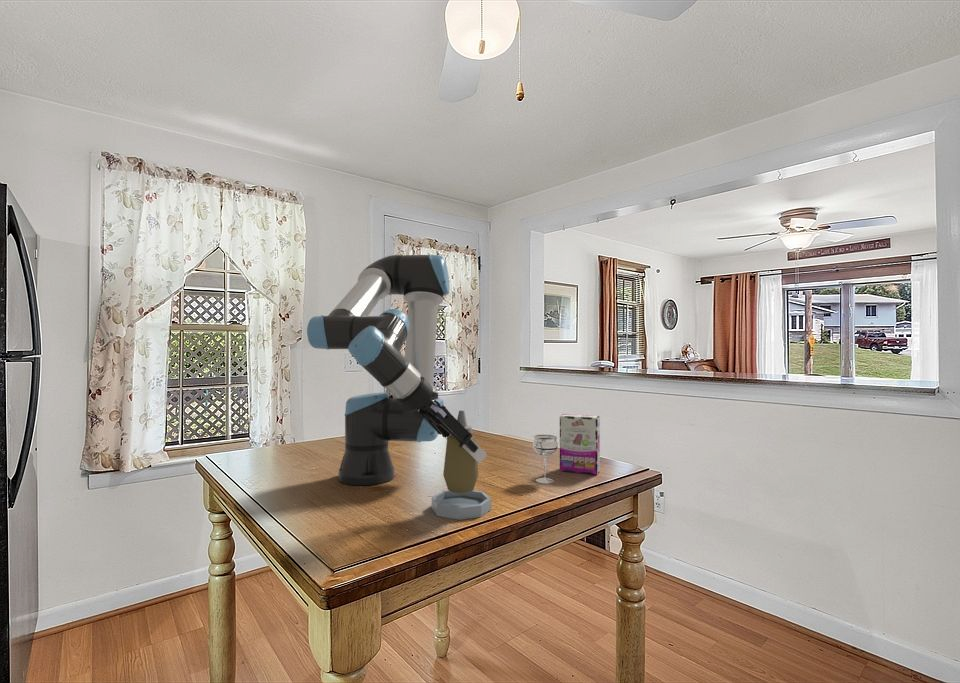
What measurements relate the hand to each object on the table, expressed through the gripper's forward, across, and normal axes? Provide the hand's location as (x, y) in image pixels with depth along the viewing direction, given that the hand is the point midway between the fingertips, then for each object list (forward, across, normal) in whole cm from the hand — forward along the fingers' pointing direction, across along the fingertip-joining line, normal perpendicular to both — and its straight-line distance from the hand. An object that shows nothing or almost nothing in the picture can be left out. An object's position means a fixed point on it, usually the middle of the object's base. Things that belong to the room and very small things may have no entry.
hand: (475, 455), depth 114 cm
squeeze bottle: (+3, 0, -8) cm, 8 cm away
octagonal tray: (+6, 0, -11) cm, 12 cm away
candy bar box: (+38, -12, +21) cm, 45 cm away
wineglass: (+28, -9, +11) cm, 31 cm away
